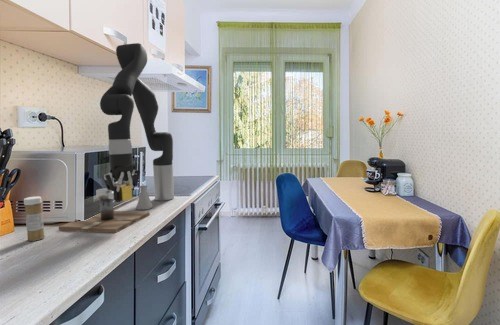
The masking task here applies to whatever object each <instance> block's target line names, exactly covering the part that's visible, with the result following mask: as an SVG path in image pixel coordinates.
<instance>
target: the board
mask: <svg viewBox="0 0 500 325" xmlns="http://www.w3.org/2000/svg"><path fill="white" fill-rule="evenodd" d="M149 216H150V211H132V210H131V211H130V210H129V211H126V210H124V211H123V210H114V219H111V220H101V213H100V214H98V215H96V216H94V217H92V218H90V219H88V220H86V221H77V222H72V221H69V222H68V223H65V224H62V225H59V226H58V230H59V231H70V232H71V231H73V232H94V233H96V232H97V233H115V234H116V233H118V232H120V231H122V230H124V229H126V228H128V227H129V226H132V225H134V224H135V223H137V222H139V221H141V220H143V219H144V218H146V217H149Z"/></svg>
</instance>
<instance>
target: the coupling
mask: <svg viewBox="0 0 500 325" xmlns="http://www.w3.org/2000/svg"><path fill="white" fill-rule="evenodd" d="M119 191H120V196H121V202H125V201H129V200H133V197H132V185H126V184H125V183H124V184H123V183H122V184H121V185H120V190H119ZM95 193H96V194H95V196H96V199H98V200H100V199H107V198H108V199H113V200H114V193H113V191H111V190H108V189H107V187H106V188H104V187H103V188H98V189H96V190H95Z"/></svg>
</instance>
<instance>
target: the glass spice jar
mask: <svg viewBox="0 0 500 325" xmlns="http://www.w3.org/2000/svg"><path fill="white" fill-rule="evenodd" d="M99 211H101V220H111V219H114V211H115V210H114V199H108V198H107V199H99Z"/></svg>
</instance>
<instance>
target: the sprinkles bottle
mask: <svg viewBox="0 0 500 325" xmlns="http://www.w3.org/2000/svg"><path fill="white" fill-rule="evenodd" d="M42 202H43V199H42V197H41V196H28V197H24V198H23V205H24V210H25V212H24V213H25V223H26V232H27V241H30V242H35V241H36V240H37V241H40V240H43V239H45V230H44V228H45V226H44V216H43V215H44V214H43V208H42Z"/></svg>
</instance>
